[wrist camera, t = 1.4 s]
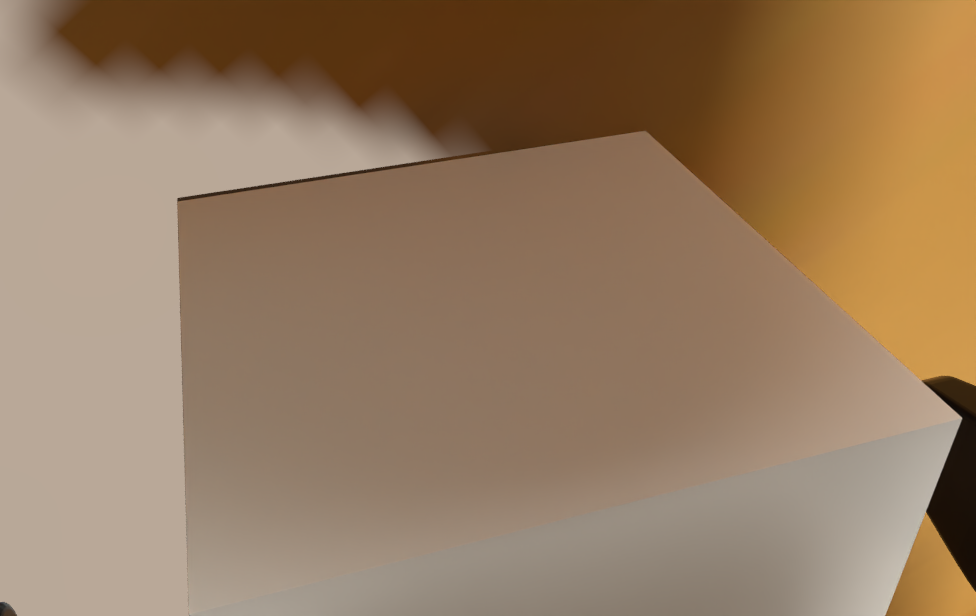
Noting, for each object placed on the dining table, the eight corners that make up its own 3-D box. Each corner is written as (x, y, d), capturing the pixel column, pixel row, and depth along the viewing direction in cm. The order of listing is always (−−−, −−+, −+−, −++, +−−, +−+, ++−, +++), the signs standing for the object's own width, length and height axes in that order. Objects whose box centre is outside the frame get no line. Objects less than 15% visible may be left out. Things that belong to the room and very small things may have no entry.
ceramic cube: (642, 127, 10) (963, 417, 6) (614, 451, 13) (816, 791, 9) (177, 198, 9) (189, 615, 5) (262, 536, 12) (314, 967, 8)
